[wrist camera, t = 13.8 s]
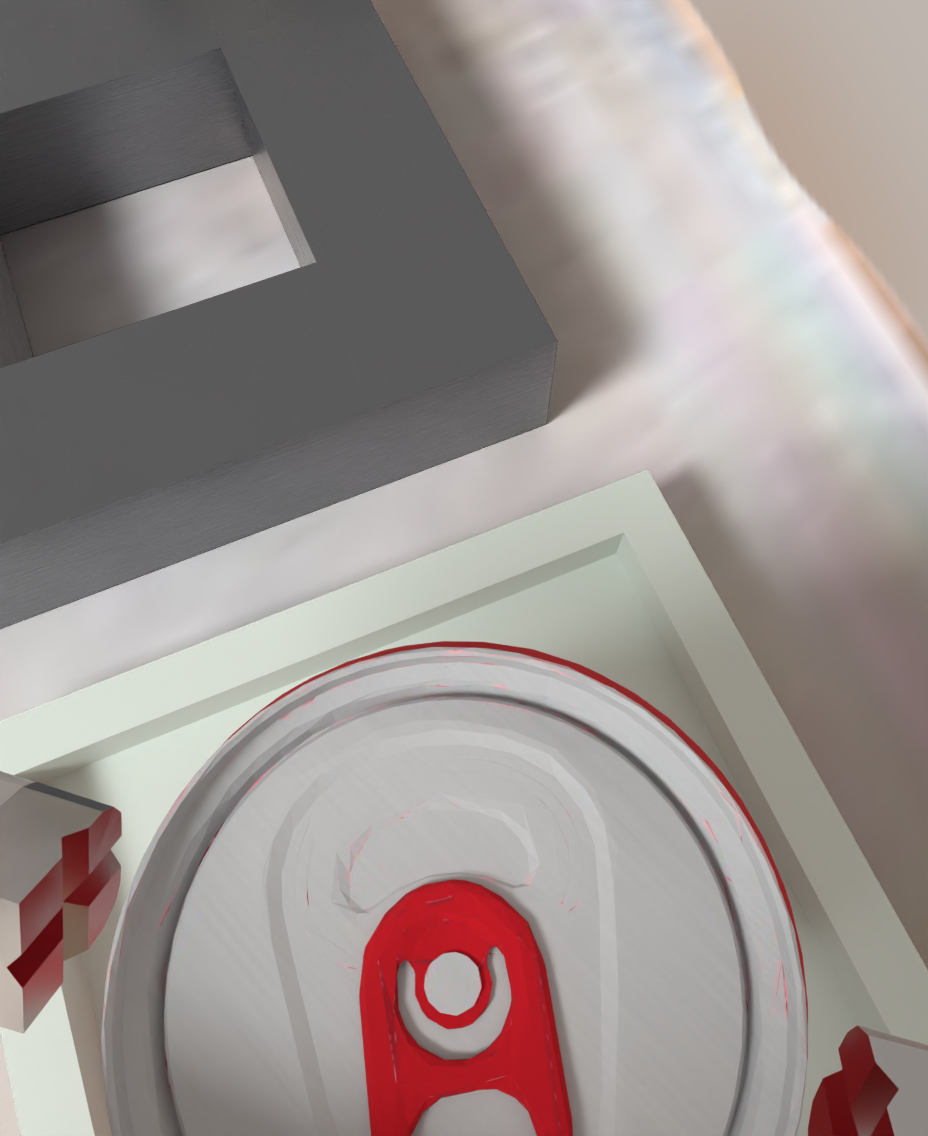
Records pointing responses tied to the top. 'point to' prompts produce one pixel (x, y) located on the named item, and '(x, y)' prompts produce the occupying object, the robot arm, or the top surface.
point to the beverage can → (456, 921)
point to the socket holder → (243, 288)
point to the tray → (496, 615)
